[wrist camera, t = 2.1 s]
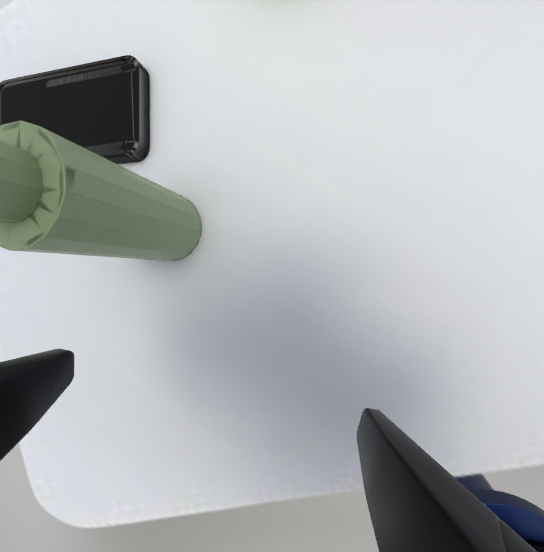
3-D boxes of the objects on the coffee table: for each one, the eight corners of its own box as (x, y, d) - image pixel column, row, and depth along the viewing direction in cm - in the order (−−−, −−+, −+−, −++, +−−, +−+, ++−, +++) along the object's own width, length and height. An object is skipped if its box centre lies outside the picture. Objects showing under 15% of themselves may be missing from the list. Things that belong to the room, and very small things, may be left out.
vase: (203, 258, 21) (-36, 234, 8) (145, 262, 22) (-150, 247, 9) (199, 191, 21) (-45, 48, 8) (142, 199, 22) (-159, 86, 9)
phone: (139, 154, 21) (-5, 169, 24) (149, 160, 22) (10, 173, 25) (139, 51, 21) (-6, 80, 24) (149, 62, 22) (9, 88, 25)
